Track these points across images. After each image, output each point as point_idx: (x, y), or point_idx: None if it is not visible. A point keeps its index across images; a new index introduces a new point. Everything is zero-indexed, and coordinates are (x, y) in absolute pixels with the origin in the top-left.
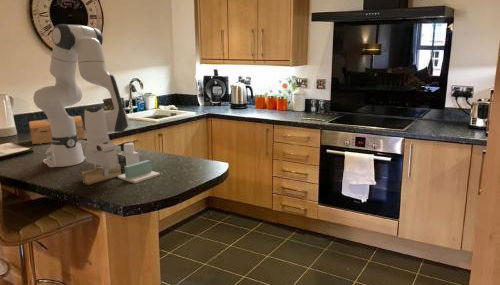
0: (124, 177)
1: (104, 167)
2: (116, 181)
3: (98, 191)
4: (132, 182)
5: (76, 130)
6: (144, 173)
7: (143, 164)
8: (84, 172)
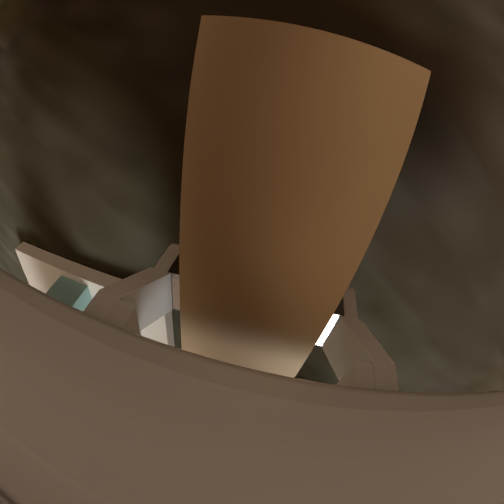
0: (93, 286)
1: (90, 312)
2: (107, 233)
3: (37, 28)
4: (38, 248)
5: None
6: None
7: None
8: (352, 62)
